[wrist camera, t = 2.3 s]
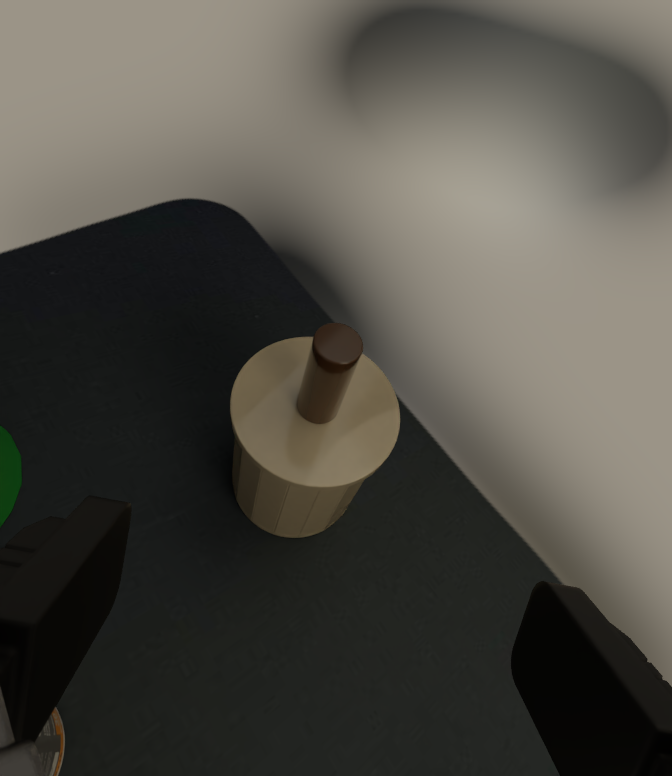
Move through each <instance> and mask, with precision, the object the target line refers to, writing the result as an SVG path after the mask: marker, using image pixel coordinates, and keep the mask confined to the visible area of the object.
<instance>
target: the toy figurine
mask: <svg viewBox="0 0 672 776" xmlns="http://www.w3.org/2000/svg"><path fill="white" fill-rule="evenodd" d="M21 483H22V474H21V456H20V454H19V451H18V449H17V447H16V445H15V443H14V441H13V439H12V436H11V435H10V434H9V433H8V432H7V431H6V430H5V429H4V428H3V427H2V426H0V527H1V526H2V524H3V523H4V521H5V520H6V519H7V517H8V516H9V514H10V513H11V512H12V510H13V507H14V504H15V501H16V498H17V495H18V492H19V489H20V486H21Z"/></svg>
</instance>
